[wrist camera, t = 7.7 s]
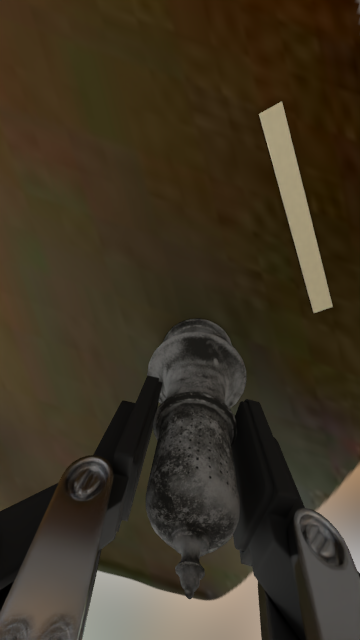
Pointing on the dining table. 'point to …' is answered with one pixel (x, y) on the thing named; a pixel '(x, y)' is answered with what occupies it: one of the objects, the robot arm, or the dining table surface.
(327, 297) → the beige long thin bar
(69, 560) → the robot arm
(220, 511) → the dark grey chess piece
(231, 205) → the dining table surface
